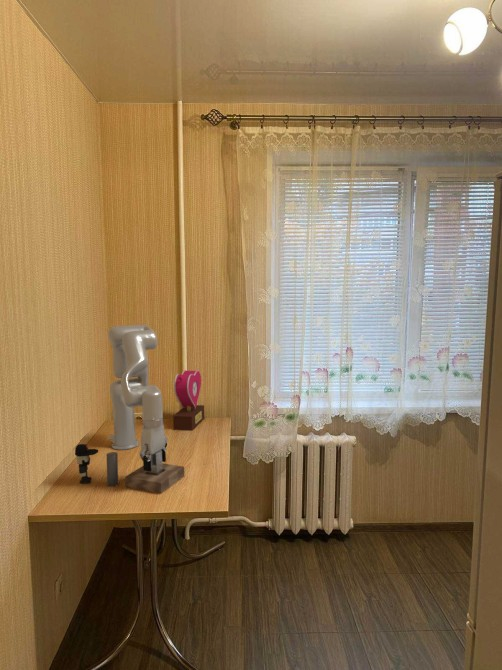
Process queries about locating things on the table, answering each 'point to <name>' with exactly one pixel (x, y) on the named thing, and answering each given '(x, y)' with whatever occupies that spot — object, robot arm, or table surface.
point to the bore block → (155, 478)
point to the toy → (84, 461)
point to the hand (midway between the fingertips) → (155, 465)
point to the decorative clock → (188, 401)
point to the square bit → (156, 463)
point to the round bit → (112, 469)
